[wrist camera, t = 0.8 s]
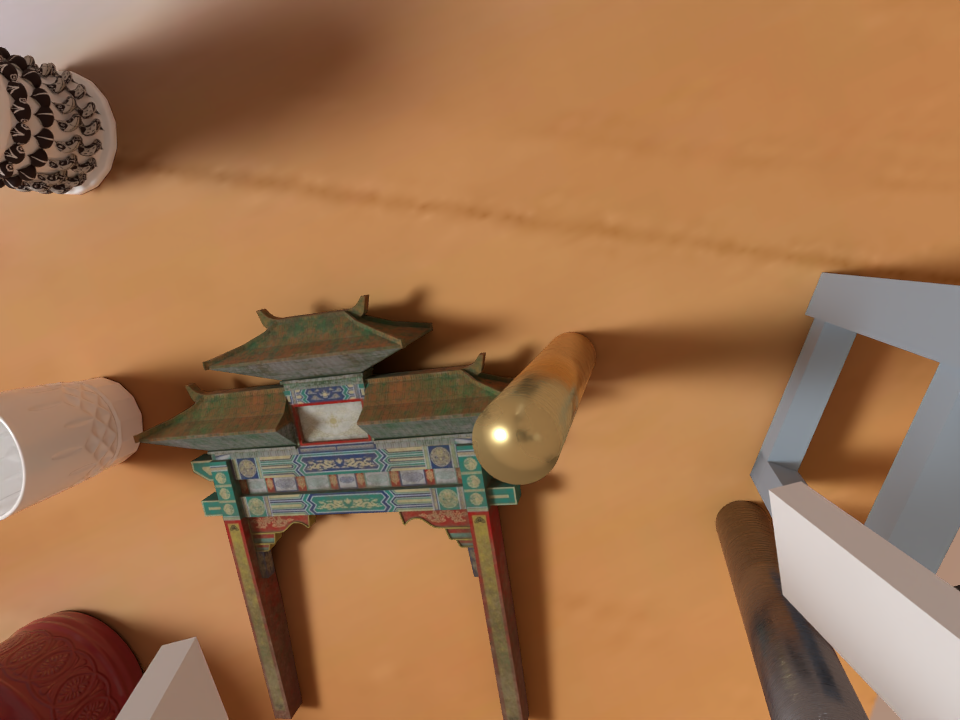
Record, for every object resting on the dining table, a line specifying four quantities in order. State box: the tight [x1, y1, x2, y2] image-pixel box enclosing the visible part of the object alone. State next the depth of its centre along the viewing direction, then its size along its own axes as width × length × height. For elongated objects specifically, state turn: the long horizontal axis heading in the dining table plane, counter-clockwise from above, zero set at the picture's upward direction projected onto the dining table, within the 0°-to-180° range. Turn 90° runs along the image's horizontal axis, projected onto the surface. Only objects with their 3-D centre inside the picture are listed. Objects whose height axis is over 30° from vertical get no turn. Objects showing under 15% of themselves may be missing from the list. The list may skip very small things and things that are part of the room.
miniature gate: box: [133, 295, 529, 720], centre depth 42 cm, size 27×6×30 cm
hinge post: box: [716, 501, 869, 720], centre depth 27 cm, size 3×3×20 cm
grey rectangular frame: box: [750, 273, 960, 574], centre depth 26 cm, size 12×2×18 cm, turn 164°
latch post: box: [472, 332, 596, 485], centre depth 29 cm, size 3×3×18 cm
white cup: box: [0, 377, 143, 520], centre depth 43 cm, size 8×8×10 cm
